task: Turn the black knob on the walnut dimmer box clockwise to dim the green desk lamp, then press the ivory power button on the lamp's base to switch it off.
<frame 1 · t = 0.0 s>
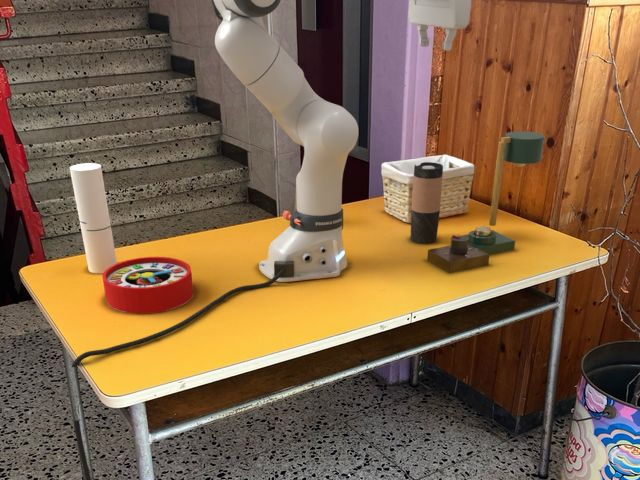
hand: (435, 48, 173), 48 cm above the table, tool pointing down, fingers open, 8 cm apart
power button: (482, 232, 193), point 5 cm above the table, slide at 0.2 cm
squeeze bottle: (308, 224, 216), on the table
toy clock: (150, 296, 172), on the table
cylindrical container: (103, 269, 187), on the table
travel mug: (423, 240, 203), on the table
dimmer: (457, 263, 188), on the table
desk lamp: (490, 241, 202), resting on lamp base
basket: (424, 213, 224), on the table
dimmer knob: (459, 244, 185), point 5 cm above the table, hinge at 110.0°
lamp base: (484, 248, 197), on the table
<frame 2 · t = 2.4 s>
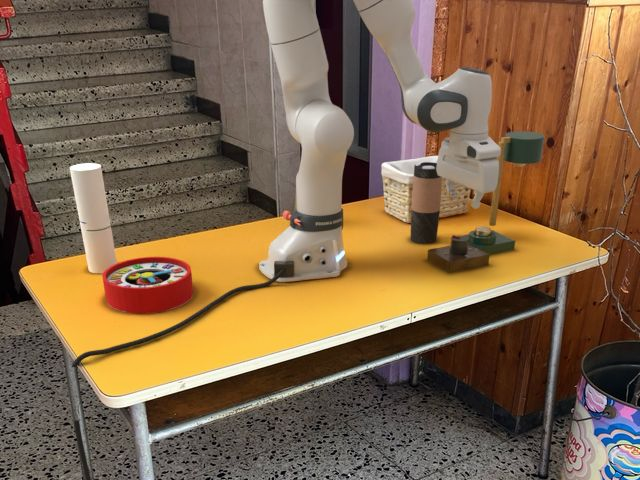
hand: (463, 202, 180), 15 cm above the table, tool pointing down, fingers open, 8 cm apart
nothing on the table moved.
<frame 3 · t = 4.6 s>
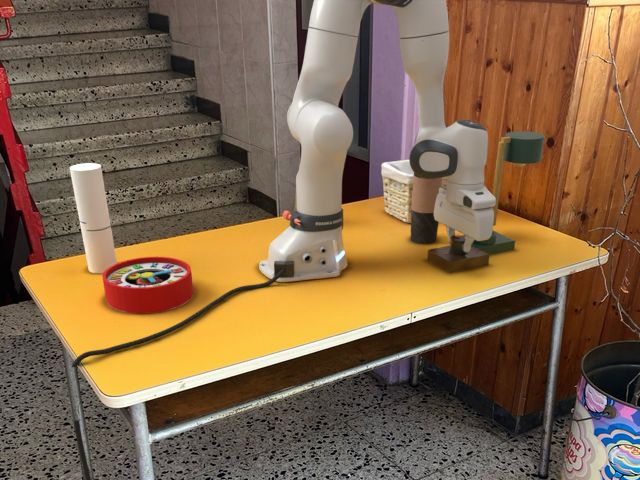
hand: (459, 247, 186), 4 cm above the table, tool pointing down, fingers closed on dimmer knob, 4 cm apart
dimmer knob: (459, 244, 185), point 5 cm above the table, hinge at 109.9°, touching gripper
everything else where it was.
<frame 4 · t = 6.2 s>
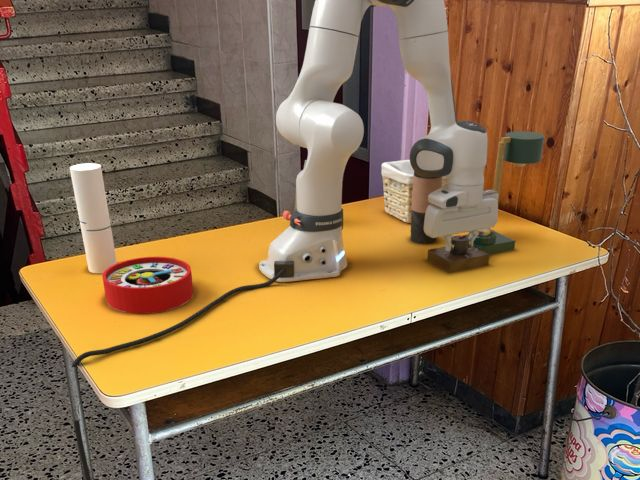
hand: (458, 248, 186), 4 cm above the table, tool pointing down, fingers closed on dimmer knob, 4 cm apart
dimmer knob: (459, 244, 185), point 5 cm above the table, hinge at 18.6°, touching gripper
everything else where it was.
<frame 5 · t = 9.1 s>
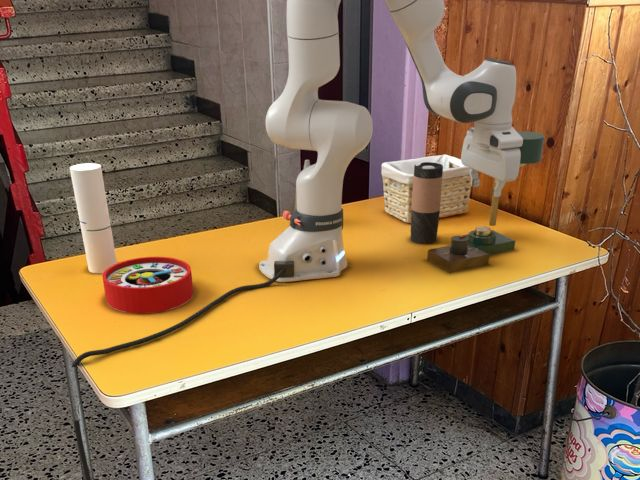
hand: (485, 191, 185), 16 cm above the table, tool pointing down, fingers open, 8 cm apart
dimmer knob: (459, 244, 185), point 5 cm above the table, hinge at 18.5°
everything else where it was.
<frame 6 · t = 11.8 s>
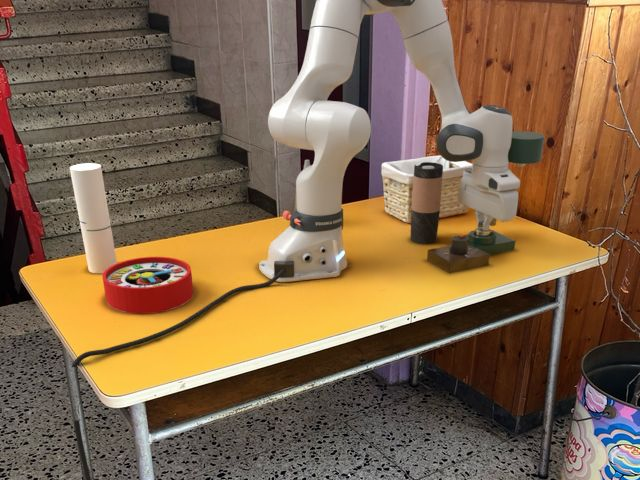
hand: (482, 229, 193), 6 cm above the table, tool pointing down, fingers closed, pressing on power button
power button: (482, 232, 193), point 5 cm above the table, slide at -0.1 cm, touching gripper
everything else where it was.
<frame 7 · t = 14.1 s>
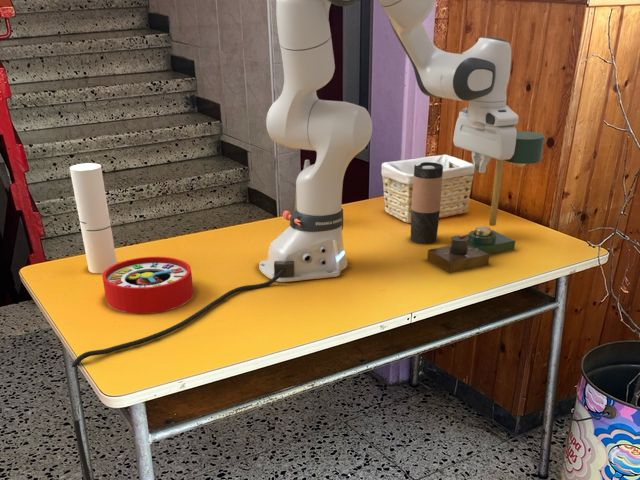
hand: (479, 171, 184), 21 cm above the table, tool pointing down, fingers closed
power button: (482, 232, 193), point 5 cm above the table, slide at 0.1 cm
everything else where it was.
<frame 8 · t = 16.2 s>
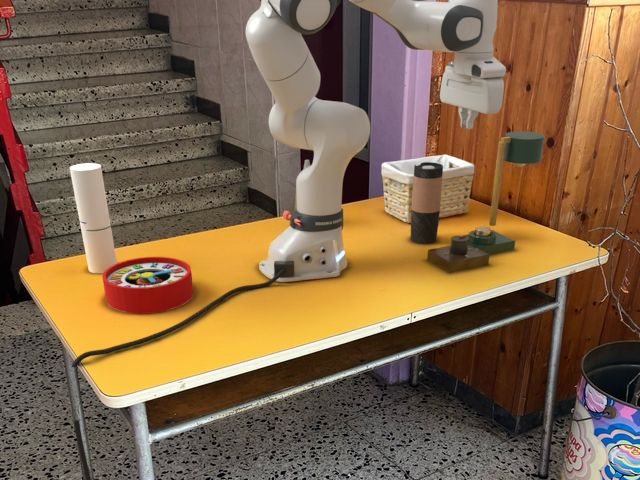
hand: (466, 128, 178), 31 cm above the table, tool pointing down, fingers closed
nothing on the table moved.
at the end: dimmer knob at +18° (first picture: +110°); power button pushed in 0.8 cm at the most during the clip, back to where it started at the end; power button slide at 0.1 cm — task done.
